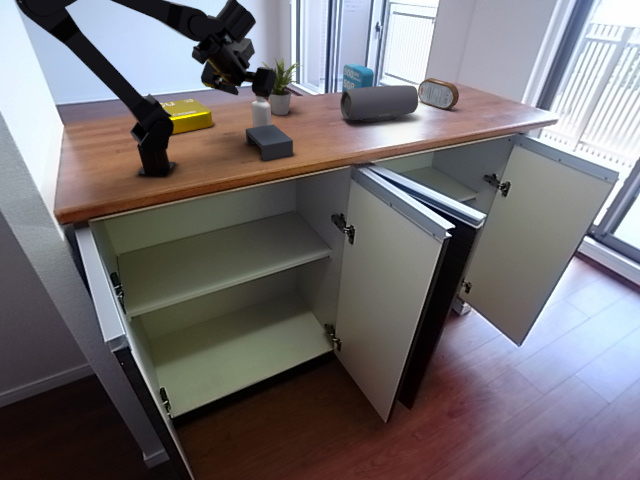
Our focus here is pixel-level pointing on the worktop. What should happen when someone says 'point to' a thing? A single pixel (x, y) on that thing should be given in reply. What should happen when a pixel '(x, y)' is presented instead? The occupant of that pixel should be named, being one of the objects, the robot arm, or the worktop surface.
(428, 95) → the tin
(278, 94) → the house plant
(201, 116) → the element tile
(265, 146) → the shelf
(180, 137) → the worktop surface
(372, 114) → the bluetooth speaker
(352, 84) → the data package
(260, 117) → the eye dropper bottle
